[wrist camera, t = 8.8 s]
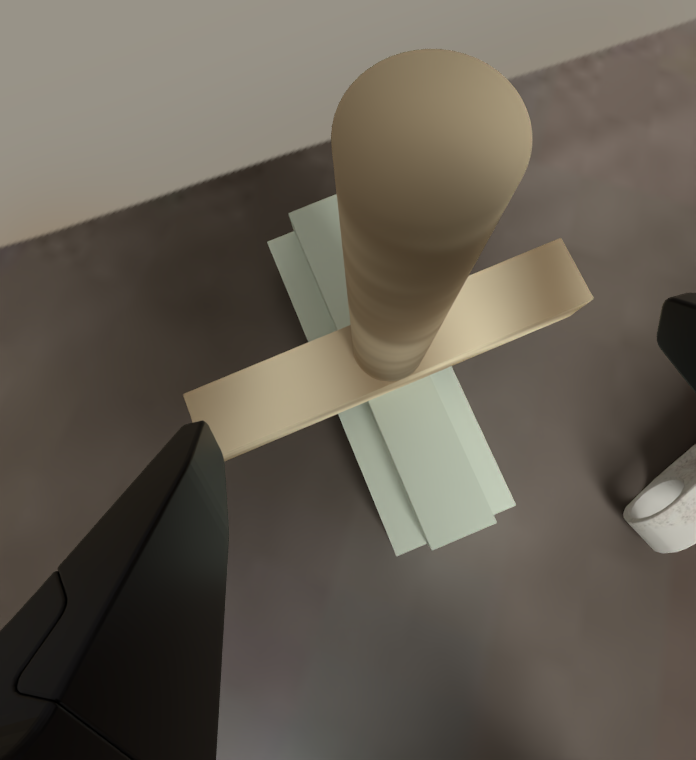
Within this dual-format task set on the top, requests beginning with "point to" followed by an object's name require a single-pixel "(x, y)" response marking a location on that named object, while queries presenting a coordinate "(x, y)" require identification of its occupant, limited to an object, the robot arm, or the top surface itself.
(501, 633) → the top surface
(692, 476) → the wrench
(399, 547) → the ridge
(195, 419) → the rubber stamp
